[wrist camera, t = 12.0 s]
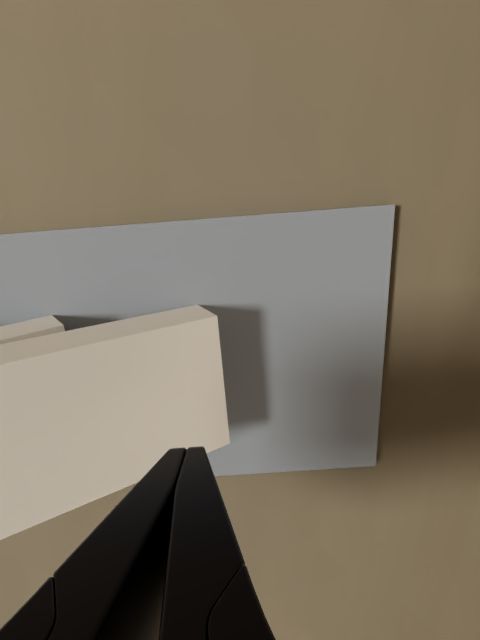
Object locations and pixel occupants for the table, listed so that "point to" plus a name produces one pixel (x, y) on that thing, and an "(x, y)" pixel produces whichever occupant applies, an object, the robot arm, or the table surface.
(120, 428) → the domino
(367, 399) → the runner mat
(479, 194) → the table surface
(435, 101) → the table surface
